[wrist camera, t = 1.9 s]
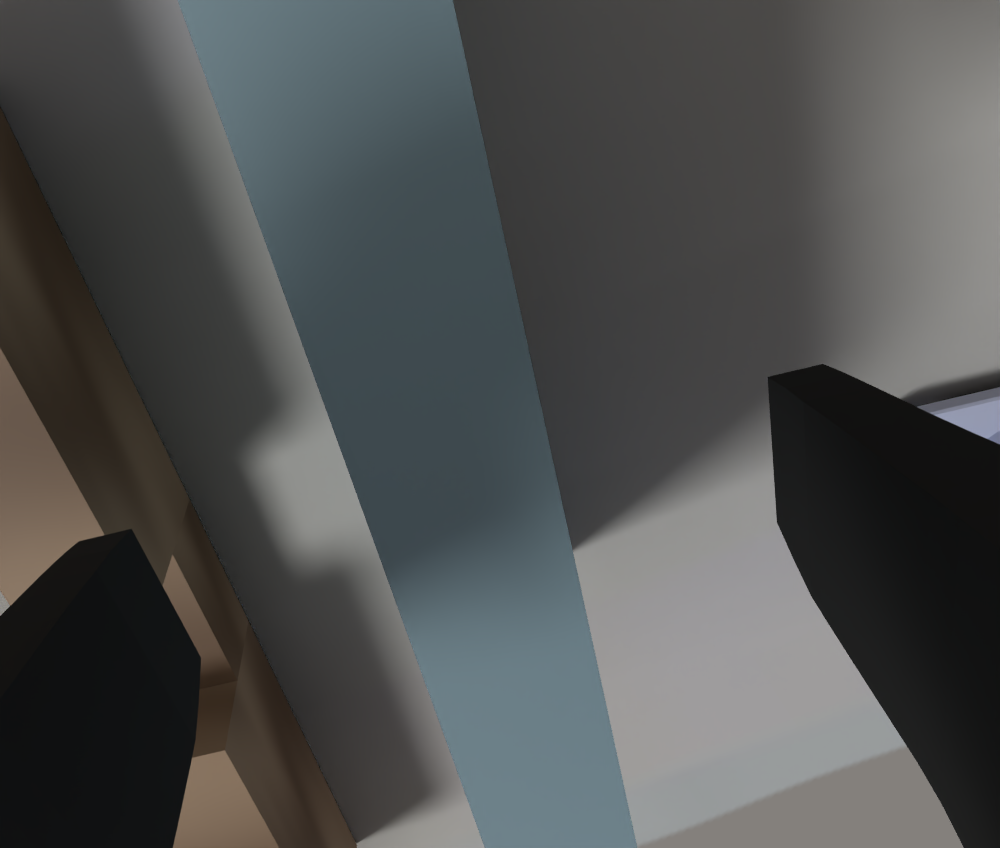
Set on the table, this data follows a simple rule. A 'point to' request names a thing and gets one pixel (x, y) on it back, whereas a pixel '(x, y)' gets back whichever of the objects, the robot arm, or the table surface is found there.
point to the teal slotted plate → (426, 383)
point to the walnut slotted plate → (135, 530)
